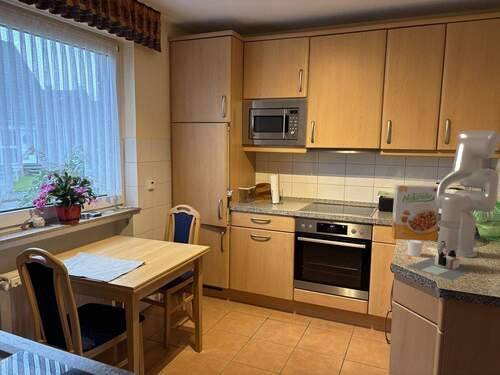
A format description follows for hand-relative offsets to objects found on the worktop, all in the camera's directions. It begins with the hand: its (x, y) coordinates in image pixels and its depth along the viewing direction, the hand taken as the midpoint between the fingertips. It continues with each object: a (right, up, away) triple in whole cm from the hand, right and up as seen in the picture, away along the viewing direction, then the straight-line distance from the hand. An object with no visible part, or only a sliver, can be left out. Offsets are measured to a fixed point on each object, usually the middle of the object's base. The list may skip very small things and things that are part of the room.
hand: (446, 263), depth 163 cm
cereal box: (+6, +4, +48) cm, 48 cm away
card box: (0, -1, 0) cm, 1 cm away
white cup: (-7, 0, +16) cm, 17 cm away
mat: (-4, -2, -3) cm, 5 cm away
